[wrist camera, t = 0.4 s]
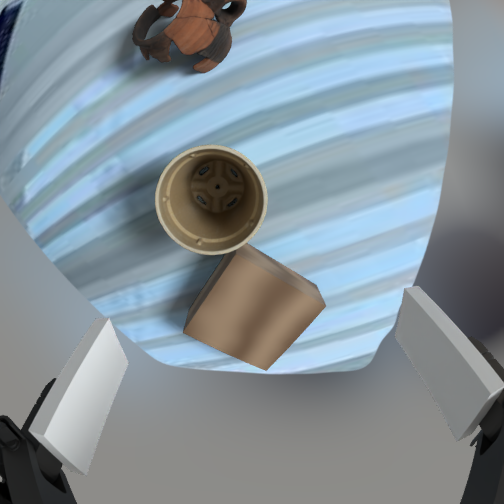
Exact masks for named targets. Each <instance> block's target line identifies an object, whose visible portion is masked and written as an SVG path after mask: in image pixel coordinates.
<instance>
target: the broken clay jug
mask: <svg viewBox="0 0 504 504" xmlns="http://www.w3.org/2000/svg"><path fill="white" fill-rule="evenodd" d="M163 1H164V3H162V4H161V5H160V6H159V7H158V8H157V9H156V8H155V7H154V5H150V6H149V7H147V8H146V10H145V11H144V12H143V13H142V15H141V16H140V17H139V19H138V21H137V22H136V25H135V27H134V30H133V34H132V35H133V38H132V39H133V42H134V44H135V45H137V46H140V50H141V52H142V54H143V56H144V57H145V59H146V60H149V59H150V58H149V54H150V55H151V56H152V57H153V58H156V59H158V60H159V61H160V62H170V61H171V57H170V56H169V49H170V45H171V42H172V41H173V42H174V43H175V45H176V46H177V47H178V48H179V50H180V51H181V53H182V54H186V55H192V54H194V53H198V54H199V55H202V56H205V57H206V58H204V59H203V60H202V61H200V62H199V63H197V64H195V65H194V66H193V69H194V70H196V71H199V72H202V73H206V72H208V71H210V70H212V69H213V68H215V67H216V66H217V65H218V64H219V63H221V62H222V61H223V59H224V58H225V57H226V56H227V54H228V52H229V51H230V48H231V43H232V37H231V33H230V26H231V25H232V23H233V22H234V21H235V20H236V19H237V18H238V17H240V16H241V15H242V13H243V12H244V10H245V8H246V3H247V0H182V6H181V9H180V11H179V13H178V14H177V16H176V18H175V19H174V20H173V21H172V22H171V23H170V24H169V26H168V27H167V28H166V29H164V31H163V32H161V33H159V34H158V35H156V36H155V37H153V38H150V39H147V40H144V39H145V38H146V35H147V32H148V30H149V28H150V26H151V25H152V24H153V23H154V22H155V21H156V20H158V19H159V18H160V17H161V16H166V17H172V16H173V15H174V14H175V13H176V12H177V11H178V9H179V7H178V6H177V5H174V4H172V3H173V2H175V1H177V0H163ZM229 2H231V5H230V6H229V7H228V8H227V9H222V7H223V6H224V5H225V4H227V3H229ZM214 15H215V17H216V19H217V21H218V22H217V21H214V20H212V19H213V18H214Z"/></svg>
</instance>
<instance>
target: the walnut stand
mask: <svg viewBox="0 0 504 504" xmlns="http://www.w3.org/2000/svg"><path fill="white" fill-rule="evenodd" d="M325 307H326V305H325V302H324V300H323V298H322V296H321V294H320V292H319V290H318V287H317V285H315V284H314V283H312V282H311V281H309V280H307V279H306V278H304V277H302V276H301V275H299V274H297V273H296V272H294V271H292V270H291V269H289V268H287V267H286V266H284V265H282V264H281V263H279V262H277V261H276V260H274V259H272V258H271V257H269V256H267V255H266V254H264V253H262V252H261V251H259V250H257V249H256V248H254V247H253V246H251V245H249V244H248V243H246V244H244V245H243V246H241V247H240V248H238V249H236V250H234V251H231V252H228V253H226V254H225V256H224V257H223V259H222V260H221V262H220V263H219V265H218V266H217V268H216V269H215V271H214V272H213V274H212V275H211V277H210V278H209V280H208V281H207V283H206V284H205V286H204V287H203V289H202V291H201V292H200V294H199V295H198V297H197V298H196V300H195V301H194V303H193V304H192V306H191V307H190V309H189V312H188V315H187V319H186V323H185V327H184V330H183V333H185V334H187V335H189V336H191V337H193V338H195V339H197V340H199V341H201V342H203V343H205V344H207V345H209V346H211V347H213V348H215V349H218V350H220V351H222V352H224V353H226V354H228V355H231V356H233V357H235V358H237V359H240V360H242V361H244V362H246V363H249V364H251V365H253V366H256V367H258V368H261V369H263V370H265V371H266V370H267V369H268V368H269V367H270V366H271V365H272V364H273V363H274V362H275V361H276V360H277V359H278V358H279V357H280V356H281V355H282V354H283V353H284V352H285V351H286V350H287V349H288V348H289V347H290V346H291V345H292V343H293V342H294V341H295V340H296V339H297V338H298V337H299V336H300V335H301V334H302V333H303V332H304V330H305V329H306V328H307V327H308V326H309V325H310V324H311V323H312V322H313V320H314V319H315V318H316V317H317V316H318V315H319V314H320V312H321V311H322V310H323V309H324V308H325Z"/></svg>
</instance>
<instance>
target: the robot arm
mask: <svg viewBox="0 0 504 504" xmlns="http://www.w3.org/2000/svg"><path fill="white" fill-rule="evenodd" d="M395 338H396V339H397V341H398V342H399V344H400V346H401V347H402V349H403V350H404V352H405V353H406V355H407V356H408V358H409V360H410V361H411V363H412V364H413V366H414V368H415V369H416V371H417V372H418V374H419V376H420V377H421V379H422V381H423V382H424V384H425V386H426V387H427V389H428V391H429V392H430V394H431V396H432V398H433V399H434V401H435V403H436V404H437V406H438V408H439V410H440V411H441V413H442V415H443V417H444V419H445V420H446V422H447V424H448V426H449V427H450V430H451V432H452V433H453V435H454V437H455V439H456V441H459V440H461V439H463V438H465V437H467V436H468V435H470V434H472V433H473V432H474V430H475V429H476V428H477V426H478V425H480V427H481V429H482V430H481V431H480V432H479V433H478V435H477V436H476V437H475V438H474V439H473V441H472V442H471V444H470V446H473V445H474V444H475V442H476V441H477V440H478V441H477V445H476V446H475V447H476V451H475V455H474V459H473V463H472V467H471V470H470V474H469V478H468V481H467V484H466V488H465V491H464V494H463V497H462V499H461V502H460V504H504V369H503V367H502V366H501V365H500V364H499V363H498V362H497V360H496V359H494V357H493V355H492V354H491V353H489V352H488V350H487V349H486V347H485V346H484V345H483V344H482V343H481V342H479V341H478V340H476V339H475V338H473V337H469V338H467V337H466V336H465V335H464V334H463V333H462V332H461V330H460V329H459V328H458V327H457V326H456V325H455V324H454V323H453V322H452V321H451V320H450V319H449V317H448V316H447V315H446V314H445V313H444V312H443V311H442V310H441V309H440V308H439V307H438V306H437V305H436V304H435V303H434V302H433V301H432V299H430V298H429V297H428V295H427V294H426V293H424V291H422V289H421V288H420V287H419V286H414V287H409V288H404V293H403V299H402V304H401V310H400V315H399V320H398V325H397V329H396V333H395ZM127 366H128V361H127V358H126V356H125V354H124V352H123V350H122V347H121V345H120V343H119V341H118V338H117V336H116V334H115V331H114V329H113V326H112V324H111V321H110V319H109V318H96V319H95V320H94V322H93V323H92V325H91V326H90V328H89V329H88V330H87V332H86V334H85V335H84V336H83V338H82V340H81V341H80V343H79V344H78V346H77V347H76V349H75V350H74V352H73V353H72V355H71V357H70V358H69V360H68V361H67V363H66V365H65V366H64V368H63V370H62V371H61V373H60V374H59V376H58V378H57V379H56V378H54V379H53V380H52V381H51V382H49V383H48V384H47V385H46V386H45V388H44V390H43V391H42V393H41V397H39V398H38V400H37V402H36V404H35V405H34V407H33V409H32V411H31V412H30V414H29V416H28V418H27V420H26V421H25V423H24V425H23V427H22V429H21V430H20V429H19V428H18V427H17V426H16V425H15V424H14V423H13V421H12V420H11V419H10V418H9V417H8V416H4V415H2V416H0V476H1V477H2V482H0V504H77V502H76V500H75V498H74V496H73V493H72V491H71V488H70V486H69V484H68V481H67V478H66V476H65V474H64V472H63V471H62V469H61V467H62V464H63V465H65V466H66V467H67V468H68V469H69V470H70V471H72V472H75V473H78V474H81V475H85V476H87V473H88V469H89V467H90V464H91V461H92V458H93V455H94V452H95V449H96V446H97V443H98V440H99V438H100V435H101V432H102V429H103V427H104V424H105V421H106V418H107V416H108V413H109V410H110V408H111V405H112V403H113V400H114V398H115V395H116V393H117V390H118V388H119V385H120V383H121V380H122V378H123V376H124V373H125V371H126V368H127Z"/></svg>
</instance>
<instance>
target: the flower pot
mask: <svg viewBox="0 0 504 504" xmlns="http://www.w3.org/2000/svg"><path fill="white" fill-rule="evenodd" d="M205 167H208V168H209V169H208V170H207V171H206V172H205V173H204V174H203V175H200V174H199V172H200V170H202V169H204V168H205ZM231 169H233V170H234V171H235V172H236V174H237V177H236V176H235V175H234V174H233V173H232V172H231V171H230V170H231ZM216 185H218V186H219V189H216ZM198 196H201V197H202V199H203V200H204V201H205V202H206V204H204V203H202V202H201V201H199V200H198V198H197V197H198ZM235 198H236V199H237V201H236V203H235V204H234V205H233V206H230V207H229V206H228V204H229V203H231V202H232V201H233V200H234V199H235ZM155 207H156V212H157V216H158V219H159V221H160V223H161V225H162V226H163V228H164V230H165V231H166V232H167V234H168V235H169V236H170V237H171V238H172V239H173V240H174V241H175V242H176V243H178V244H179V245H180V246H182V247H184V248H185V249H188V250H190V251H192V252H196V253H199V254H203V255H219V254H225V253H228V252H231V251H234V250H236V249H238V248H240V247H241V246H243V245H244V244H246V243H247V242H248V241H249V240H250V239H251V238H252V237H253V236H254V235H255V234H256V232H257V231H258V230H259V228H260V226H261V224H262V222H263V220H264V217H265V215H266V210H267V190H266V186H265V183H264V180H263V177H262V175H261V174H260V172H259V170H258V169H257V167H256V166H255V165H254V164H253V163H252V162H251V161H250V160H249V159H248V158H247V157H246V156H244V155H243V154H241V153H240V152H238V151H236V150H234V149H231V148H228V147H225V146H220V145H202V146H197V147H194V148H191V149H188V150H186V151H184V152H182V153H181V154H179V155H178V156H176V157H175V158H174V159H173V160H172V161H171V162H170V163H169V164H168V165H167V166H166V167H165V169H164V171H163V172H162V174H161V176H160V178H159V181H158V184H157V187H156V192H155Z"/></svg>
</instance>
